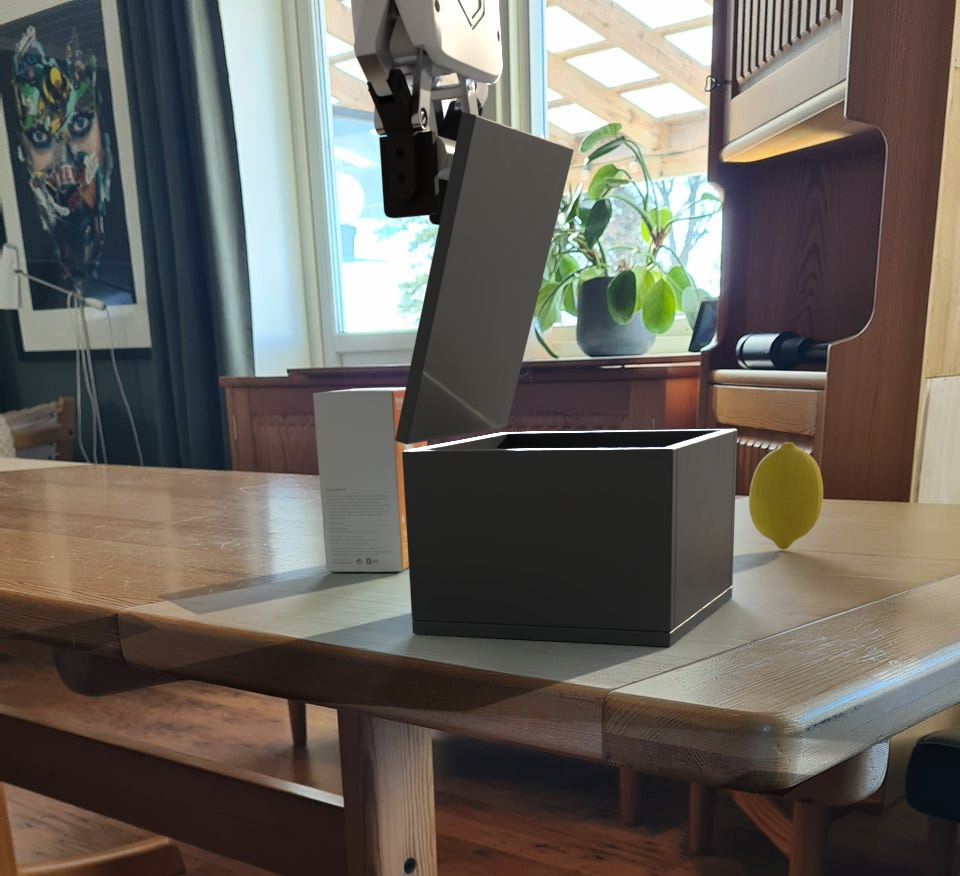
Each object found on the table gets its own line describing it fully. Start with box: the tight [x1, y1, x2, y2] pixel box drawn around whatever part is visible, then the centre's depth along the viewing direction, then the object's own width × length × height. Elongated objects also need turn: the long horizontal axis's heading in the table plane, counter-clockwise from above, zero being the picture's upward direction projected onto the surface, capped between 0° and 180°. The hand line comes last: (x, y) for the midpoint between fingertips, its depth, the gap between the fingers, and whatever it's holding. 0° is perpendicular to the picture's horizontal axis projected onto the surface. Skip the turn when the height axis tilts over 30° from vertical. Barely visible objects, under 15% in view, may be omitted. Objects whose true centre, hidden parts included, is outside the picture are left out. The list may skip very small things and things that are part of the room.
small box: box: [312, 386, 428, 573], centre depth 98 cm, size 8×6×13 cm
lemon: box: [748, 441, 824, 551], centre depth 98 cm, size 6×6×8 cm
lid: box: [395, 112, 575, 445], centre depth 74 cm, size 16×15×5 cm
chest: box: [402, 428, 738, 648], centre depth 77 cm, size 16×15×10 cm
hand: (434, 215), depth 74 cm, fingers closed on lid, 5 cm apart
